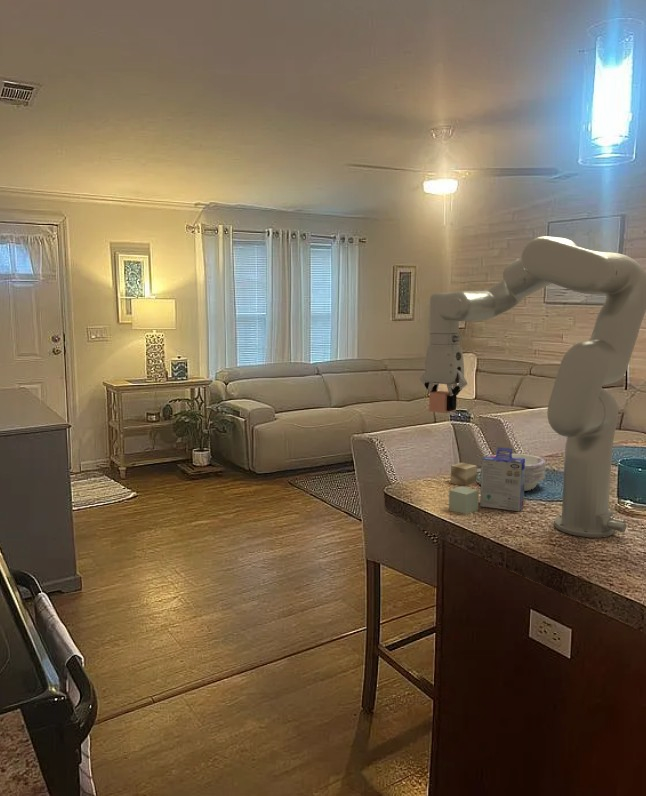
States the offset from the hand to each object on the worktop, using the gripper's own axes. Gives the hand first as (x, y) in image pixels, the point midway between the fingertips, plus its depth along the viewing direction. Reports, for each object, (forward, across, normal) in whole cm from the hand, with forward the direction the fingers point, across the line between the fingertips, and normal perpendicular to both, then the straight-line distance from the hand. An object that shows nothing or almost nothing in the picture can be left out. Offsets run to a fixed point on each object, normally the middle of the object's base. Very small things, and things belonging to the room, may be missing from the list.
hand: (442, 408), depth 167 cm
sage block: (+23, -14, +9) cm, 28 cm away
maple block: (+23, 0, -10) cm, 25 cm away
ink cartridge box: (+23, -19, 0) cm, 29 cm away
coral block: (+1, 0, 0) cm, 1 cm away
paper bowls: (+23, -12, -17) cm, 31 cm away
